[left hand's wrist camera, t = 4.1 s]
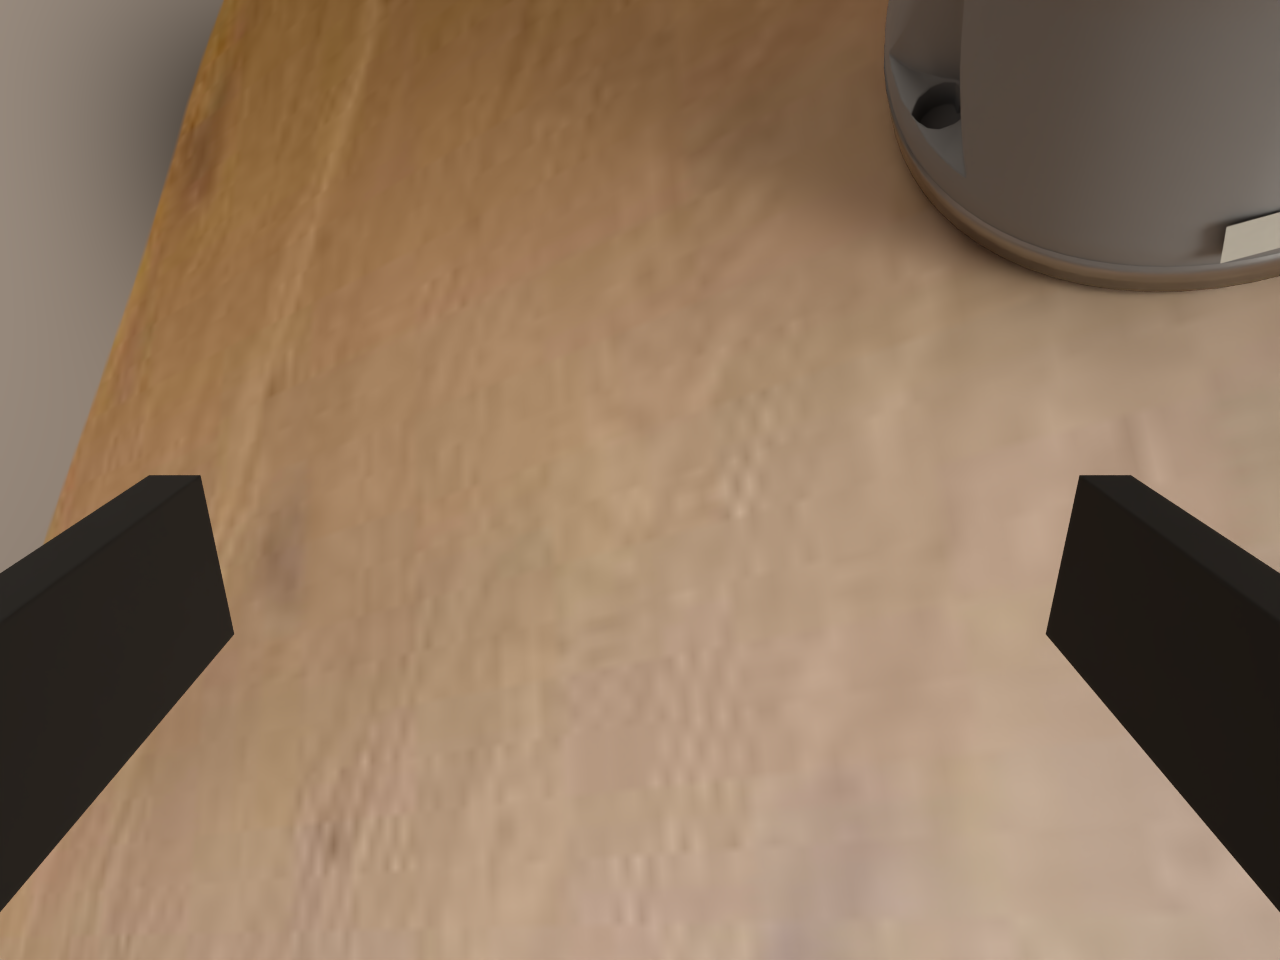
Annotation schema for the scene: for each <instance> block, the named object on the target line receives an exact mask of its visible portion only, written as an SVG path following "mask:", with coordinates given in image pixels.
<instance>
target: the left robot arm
mask: <svg viewBox="0 0 1280 960" xmlns="http://www.w3.org/2000/svg"><path fill="white" fill-rule="evenodd" d="M884 72H885V82H886V91H887V97H888V102H889V107H890V112H891V117H892V122H893V126H894V131H895V135H896V139H897V141H898V144H899V147H900V150H901V153H902V155H903V158H904V160H905V162H906V164H907V166H908V168H909V170H910V172H911V174H912V176H913V177H914V179H915V180H916V182H917V183H918V185H919V186H920V188H921V189H922V191H923V192H924V194H925V195H926V196H927V198H928V199H929V200H930V201H931V202H932V203H933V205H934V206H935V207H936V208H937V209H938V210H939V211H940V213H941V214H943V215H944V216H945V217H946V218H947V219H948V220H949V221H950V222H951V223H952V224H953V225H955V226H956V227H957V228H958V229H959V230H960V231H962V232H963V233H965V234H966V235H967V236H969V237H970V238H971V239H973V240H974V241H976V242H977V243H978V244H980V245H982V246H983V247H985V248H987V249H989V250H990V251H992V252H994V253H996V254H997V255H999V256H1001V257H1003V258H1005V259H1007V260H1009V261H1012V262H1014V263H1016V264H1018V265H1021V266H1023V267H1025V268H1028V269H1030V270H1033V271H1036V272H1039V273H1042V274H1045V275H1048V276H1051V277H1054V278H1058V279H1062V280H1066V281H1070V282H1075V283H1079V284H1083V285H1089V286H1096V287H1102V288H1109V289H1117V290H1131V291H1145V292H1164V291H1191V290H1202V289H1214V288H1221V287H1227V286H1233V285H1240V284H1246V283H1252V282H1256V281H1260V280H1264V279H1268V278H1272V277H1277V276H1280V0H889V3H888V9H887V17H886V28H885V46H884ZM233 635H234V631H233V626H232V622H231V617H230V612H229V607H228V603H227V598H226V593H225V589H224V584H223V579H222V574H221V570H220V565H219V560H218V556H217V551H216V546H215V542H214V537H213V532H212V527H211V523H210V518H209V513H208V509H207V504H206V499H205V494H204V490H203V485H202V480H201V476H200V475H149V476H147V477H146V478H144V479H143V480H141V481H140V482H138V483H137V484H135V485H134V486H132V487H131V488H129V489H128V490H126V491H125V492H123V493H122V494H120V495H119V496H117V497H116V498H114V499H112V500H111V501H109V502H108V503H106V504H105V505H103V506H102V507H100V508H99V509H97V510H96V511H94V512H93V513H91V514H90V515H88V516H87V517H85V518H84V519H82V520H81V521H79V522H78V523H76V524H75V525H73V526H71V527H70V528H68V529H67V530H65V531H64V532H62V533H61V534H59V535H58V536H56V537H55V538H53V539H52V540H50V541H49V542H47V543H46V544H44V545H43V546H41V547H40V548H38V549H37V550H35V551H34V552H32V553H30V554H29V555H27V556H26V557H24V558H23V559H21V560H20V561H18V562H17V563H15V564H14V565H12V566H11V567H9V568H8V569H6V570H5V571H3V572H2V573H0V912H1V910H2V909H3V908H4V907H5V906H6V904H7V903H8V902H9V901H10V900H11V899H12V897H13V896H14V895H15V894H16V893H17V891H18V890H19V889H20V888H21V887H22V885H23V884H24V883H25V882H26V881H27V880H28V878H29V877H30V876H31V875H32V874H33V872H34V871H35V870H36V869H37V868H38V866H39V865H40V864H41V863H42V862H43V861H44V859H45V858H46V857H47V856H48V855H49V853H50V852H51V851H52V850H53V849H54V847H55V846H56V845H57V844H58V843H59V842H60V840H61V839H62V838H63V837H64V836H65V834H66V833H67V832H68V831H69V830H70V828H71V827H72V826H73V825H74V824H75V823H76V821H77V820H78V819H79V818H80V817H81V815H82V814H83V813H84V812H85V811H86V809H87V808H88V807H89V806H90V805H91V804H92V802H93V801H94V800H95V799H96V798H97V796H98V795H99V794H100V793H101V792H102V790H103V789H104V788H105V787H106V786H107V785H108V783H109V782H110V781H111V780H112V779H113V777H114V776H115V775H116V774H117V773H118V771H119V770H120V769H121V768H122V767H123V766H124V764H125V763H126V762H127V761H128V760H129V758H130V757H131V756H132V755H133V754H134V752H135V751H136V750H137V749H138V748H139V747H140V745H141V744H142V743H143V742H144V741H145V739H146V738H147V737H148V736H149V735H150V733H151V732H152V731H153V730H154V729H155V728H156V726H157V725H158V724H159V723H160V722H161V720H162V719H163V718H164V717H165V716H166V714H167V713H168V712H169V711H170V710H171V709H172V707H173V706H174V705H175V704H176V703H177V701H178V700H179V699H180V698H181V697H182V695H183V694H184V693H185V692H186V691H187V690H188V688H189V687H190V686H191V685H192V684H193V682H194V681H195V680H196V679H197V678H198V676H199V675H200V674H201V673H202V672H203V671H204V669H205V668H206V667H207V666H208V665H209V663H210V662H211V661H212V660H213V659H214V657H215V656H216V655H217V654H218V653H219V652H220V650H221V649H222V648H223V647H224V646H225V644H226V643H227V642H228V641H229V640H230V638H231V637H232V636H233ZM1046 635H1047V636H1048V637H1049V638H1050V640H1051V641H1052V642H1053V643H1054V644H1055V646H1056V647H1057V648H1058V649H1059V650H1060V652H1061V653H1062V654H1063V655H1064V656H1065V657H1066V659H1067V660H1068V661H1069V662H1070V663H1071V665H1072V666H1073V667H1074V668H1075V669H1076V671H1077V672H1078V673H1079V674H1080V675H1081V676H1082V678H1083V679H1084V680H1085V681H1086V682H1087V684H1088V685H1089V686H1090V687H1091V688H1092V690H1093V691H1094V692H1095V693H1096V694H1097V695H1098V697H1099V698H1100V699H1101V700H1102V701H1103V703H1104V704H1105V705H1106V706H1107V707H1108V709H1109V710H1110V711H1111V712H1112V713H1113V714H1114V716H1115V717H1116V718H1117V719H1118V720H1119V722H1120V723H1121V724H1122V725H1123V726H1124V728H1125V729H1126V730H1127V731H1128V732H1129V733H1130V735H1131V736H1132V737H1133V738H1134V739H1135V741H1136V742H1137V743H1138V744H1139V745H1140V747H1141V748H1142V749H1143V750H1144V751H1145V752H1146V754H1147V755H1148V756H1149V757H1150V758H1151V760H1152V761H1153V762H1154V763H1155V764H1156V766H1157V767H1158V768H1159V769H1160V770H1161V771H1162V773H1163V774H1164V775H1165V776H1166V777H1167V779H1168V780H1169V781H1170V782H1171V783H1172V785H1173V786H1174V787H1175V788H1176V789H1177V790H1178V792H1179V793H1180V794H1181V795H1182V796H1183V798H1184V799H1185V800H1186V801H1187V802H1188V804H1189V805H1190V806H1191V807H1192V808H1193V809H1194V811H1195V812H1196V813H1197V814H1198V815H1199V817H1200V818H1201V819H1202V820H1203V821H1204V823H1205V824H1206V825H1207V826H1208V827H1209V828H1210V830H1211V831H1212V832H1213V833H1214V834H1215V836H1216V837H1217V838H1218V839H1219V840H1220V842H1221V843H1222V844H1223V845H1224V846H1225V847H1226V849H1227V850H1228V851H1229V852H1230V853H1231V855H1232V856H1233V857H1234V858H1235V859H1236V861H1237V862H1238V863H1239V864H1240V865H1241V866H1242V868H1243V869H1244V870H1245V871H1246V872H1247V874H1248V875H1249V876H1250V877H1251V878H1252V880H1253V881H1254V882H1255V883H1256V884H1257V885H1258V887H1259V888H1260V889H1261V890H1262V891H1263V893H1264V894H1265V895H1266V896H1267V897H1268V899H1269V900H1270V901H1271V902H1272V903H1273V905H1274V906H1275V907H1276V908H1277V909H1278V910H1279V912H1280V573H1278V572H1277V571H1275V570H1274V569H1272V568H1271V567H1269V566H1268V565H1266V564H1265V563H1263V562H1262V561H1260V560H1259V559H1257V558H1256V557H1254V556H1253V555H1251V554H1250V553H1248V552H1246V551H1245V550H1243V549H1242V548H1240V547H1239V546H1237V545H1236V544H1234V543H1233V542H1231V541H1230V540H1228V539H1227V538H1225V537H1224V536H1222V535H1221V534H1219V533H1218V532H1216V531H1215V530H1213V529H1212V528H1210V527H1209V526H1207V525H1205V524H1204V523H1202V522H1201V521H1199V520H1198V519H1196V518H1195V517H1193V516H1192V515H1190V514H1189V513H1187V512H1186V511H1184V510H1183V509H1181V508H1180V507H1178V506H1177V505H1175V504H1174V503H1172V502H1171V501H1169V500H1168V499H1166V498H1164V497H1163V496H1161V495H1160V494H1158V493H1157V492H1155V491H1154V490H1152V489H1151V488H1149V487H1148V486H1146V485H1145V484H1143V483H1142V482H1140V481H1139V480H1137V479H1136V478H1134V477H1133V476H1131V475H1080V476H1079V480H1078V485H1077V490H1076V494H1075V499H1074V504H1073V509H1072V513H1071V518H1070V523H1069V527H1068V532H1067V537H1066V541H1065V546H1064V551H1063V556H1062V560H1061V565H1060V570H1059V574H1058V579H1057V584H1056V589H1055V593H1054V598H1053V603H1052V607H1051V612H1050V617H1049V621H1048V626H1047V631H1046Z"/></svg>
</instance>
